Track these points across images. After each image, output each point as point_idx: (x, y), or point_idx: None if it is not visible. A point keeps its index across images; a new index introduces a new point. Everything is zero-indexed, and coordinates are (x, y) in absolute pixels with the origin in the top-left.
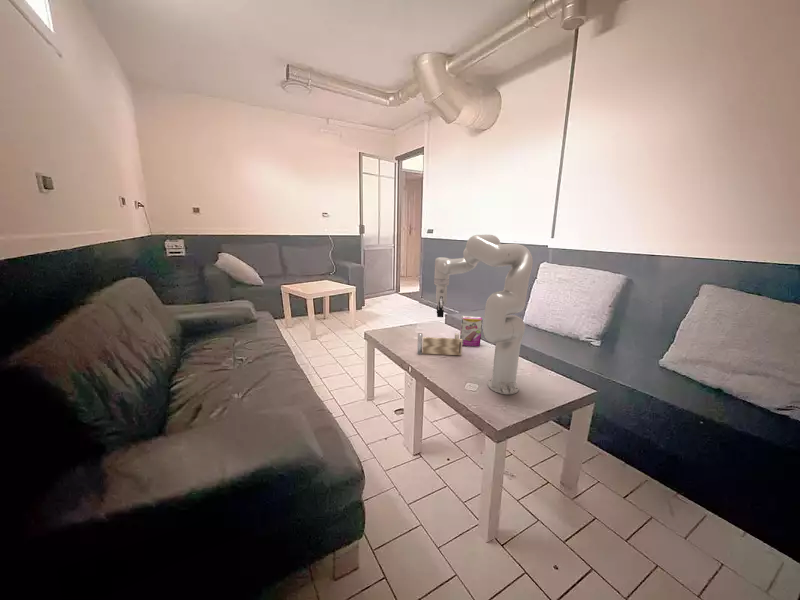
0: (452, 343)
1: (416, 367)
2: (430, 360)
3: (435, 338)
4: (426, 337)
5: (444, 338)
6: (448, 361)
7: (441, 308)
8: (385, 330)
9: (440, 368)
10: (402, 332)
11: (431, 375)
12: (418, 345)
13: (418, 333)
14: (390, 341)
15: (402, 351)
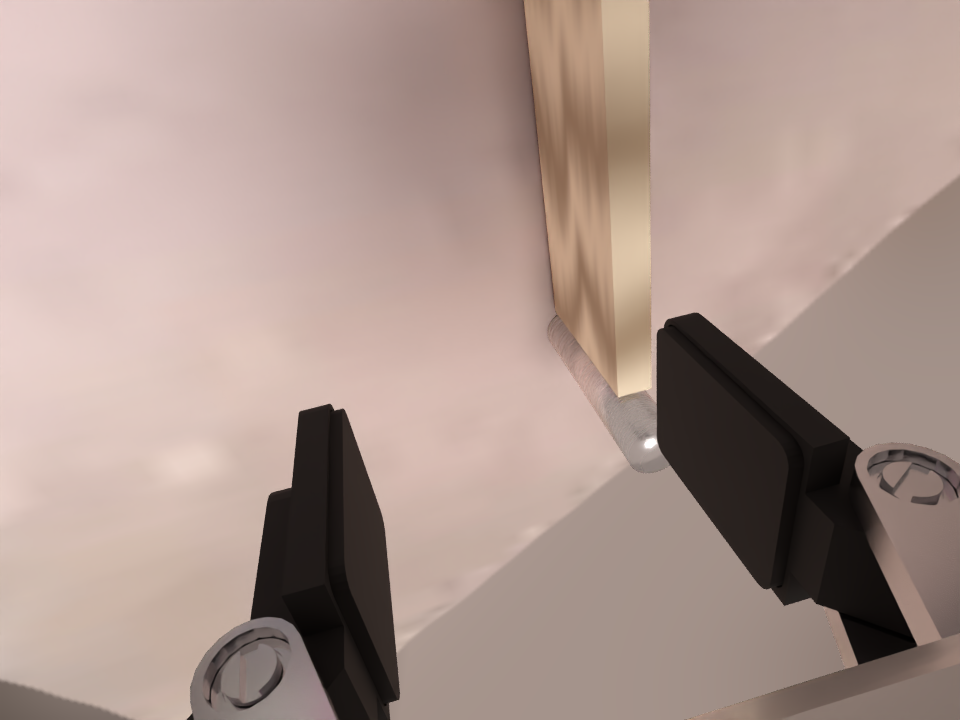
0: None
1: (819, 284)
2: (693, 205)
3: (639, 253)
4: (623, 362)
5: (621, 125)
6: (703, 11)
7: None
8: (157, 703)
9: (848, 80)
10: (115, 599)
11: (955, 140)
12: None
13: (643, 470)
14: None
15: (552, 457)
